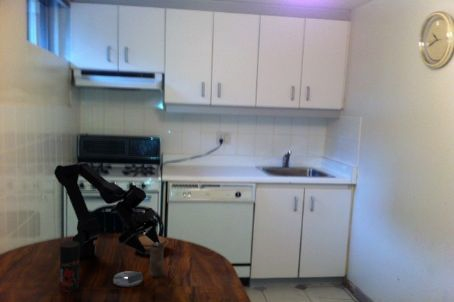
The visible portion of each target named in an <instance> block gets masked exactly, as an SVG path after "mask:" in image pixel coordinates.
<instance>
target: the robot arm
mask: <svg viewBox="0 0 454 302" xmlns="http://www.w3.org/2000/svg"><path fill="white" fill-rule="evenodd" d="M53 174H54V176H55V178H56V180H57V182H58V183H59V184H60V185H62V187H64V188H65V190H66V193H67V196H68V199H69V202H70V203H71V206H72V208H73V211H74V214H75V216H76V219H77V225H76V231H77V232H76V234H75V235H74V236H73V237H72V241H76V242H79V260H92V259H94V258H95V255H96V246H97V245H96V243H95V241H97V240H98V239H99V236H100V234H101V232H102V229H101V227H102V225H101V224H100V221H99V219H98V217H93V216H91V213H90V211H89V208H88V206H87V203H86V201H85V199H84V196H83V193H82V191H81V188H80V186H79V184H78V183H79V177H82V178H83V179H84V180H85V181H86V182H88V183H89V184H90V185H91V186H93V188H95V189H96V190H97V192H98V193H99V197H100V198H101V199H102V200H103V201H104V202H105V203H106V204H108V205H111V204H113V205H111V209H110V214H114V213H116V214H117V215H118V217H119V218H120V219H121V221H122V222H121V223H120V224H121V225H122V226H125V227H126V229H125V230H124V231H123V232H122V233H121V234H120V235H119V236H118V237H117V240H118V242H119V243H120V245H122V244H124V246H128V247H130V248H133V249H134V250H136V251H137V250H138V251H140V252H142V253H145V252H146V250H145V248H144V246H143V245H142V243H141V242H140V240H139V237H140V235H139V234H140V233H141V232H143V233H145V234H144V236H147V237H148V238H149V239H150V240H152V241H153V242H154V243H156V242H158V243H160V242H159V239H158V236H159V235H158V233H157V227H158V226H159V225H158V224H159V223H160V222H159V221H158V219H157V218H156V217H155V214H156V212H155V210H153V208H152V207H148V208H147V209H144V210H145V211H144V212H143V213H140V212H139V211H136V210H135V209H136V208H137V207H138V206H140V205H141V204H142V202H143V201H144V200H146V199H147V194H146V193H147V192H145V190H143V189H142V188H140V187H138V186H137V185H131V186H129V188H128V190H125V189H124V188H123V187H121V186H119V185H118V184H115V183H112V182H109V181H108V180H107V179H106V178H105V177H103V176H102V175H100V173H98V172H97V171H96V170H94V169H93V168H92V167H91V166H90V165H89V163H87V162H85V161H84V162H77V163H75V164H74V163H65V164H59V165H57V166H55V170H54V172H53ZM79 175H80V176H79ZM114 203H115V204H114ZM138 251H137V252H138ZM142 253H141V254H142Z"/></svg>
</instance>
